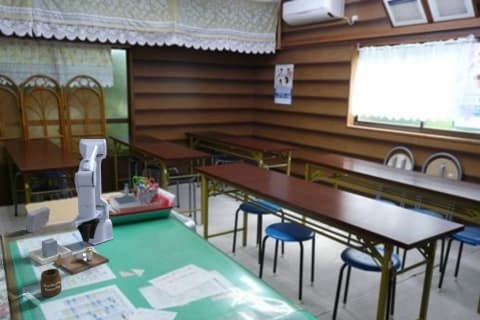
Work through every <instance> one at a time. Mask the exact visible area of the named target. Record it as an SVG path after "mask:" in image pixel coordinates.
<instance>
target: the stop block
mask: <svg viewBox="0 0 480 320" xmlns="http://www.w3.org/2000/svg"><path fill="white" fill-rule="evenodd" d="M57 244H58V240H56V239H55V238H53V237H51V238H48V239H43V240H41V248H42V255H43V256H44V257H46V258H49V257H52V256H55V255H58V249H57Z"/></svg>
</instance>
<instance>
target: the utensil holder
mask: <svg viewBox="0 0 480 320" xmlns="http://www.w3.org/2000/svg"><path fill="white" fill-rule="evenodd" d="M60 258H61V255H60V254H59V256H58V260H57V265H56V268H47V269H46V267H49V266H48V264H46V266H45V265H44V264H43V265H42V266H43V267H41V264H39V265H38V267H40V270H41V271H40V272H41V274H40V277H41V278H40V280H39V281H40V282H39V284H40V286H39V287H40V294H41V296H42V297H45V298H48V297H49V298H50V297H55V296H57V295H59V294H60V293H62V292H61V291H62V277H61V274H60V270H59V266H58V265H59V264H60ZM43 262H44V261H43ZM40 263H42V262H40ZM44 263H45V262H44ZM43 269H44V270H43Z"/></svg>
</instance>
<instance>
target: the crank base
mask: <svg viewBox="0 0 480 320" xmlns="http://www.w3.org/2000/svg"><path fill="white" fill-rule="evenodd" d="M81 252H86V249H85V250H83V251H81ZM77 253H78V252H76V253H72V255H70V256H67V257H64V258H61V259H60V264H59V265H58V267H60V268H61V269H63V270H65V272H66V271H67V272H68V273H70V274H72V275H77V274H80V273H82V272H85V271H88V270H91V269H93V268H96V267H98V266H102V265H104V264H106V263H109V262H110V259H109V258H107V257H105V256H103V255H101V254H99V253H97V252H96V251H93V250H92V263H90V264H87V263H85V262H83V261H81V262H79V261H77V260H76V254H77ZM53 264H55V265H56V266H57V260H55V261H54V262H53Z"/></svg>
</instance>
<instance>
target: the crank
mask: <svg viewBox="0 0 480 320" xmlns="http://www.w3.org/2000/svg"><path fill="white" fill-rule="evenodd" d="M85 250H86V252H82V251H79V252H76V253H77V254H76V253H75V254H76V260H77V261H79V262H81V261H83V262H85V263H87V264H90V263H92V251H93V248H92V247H87V248H86V249H85Z"/></svg>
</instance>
